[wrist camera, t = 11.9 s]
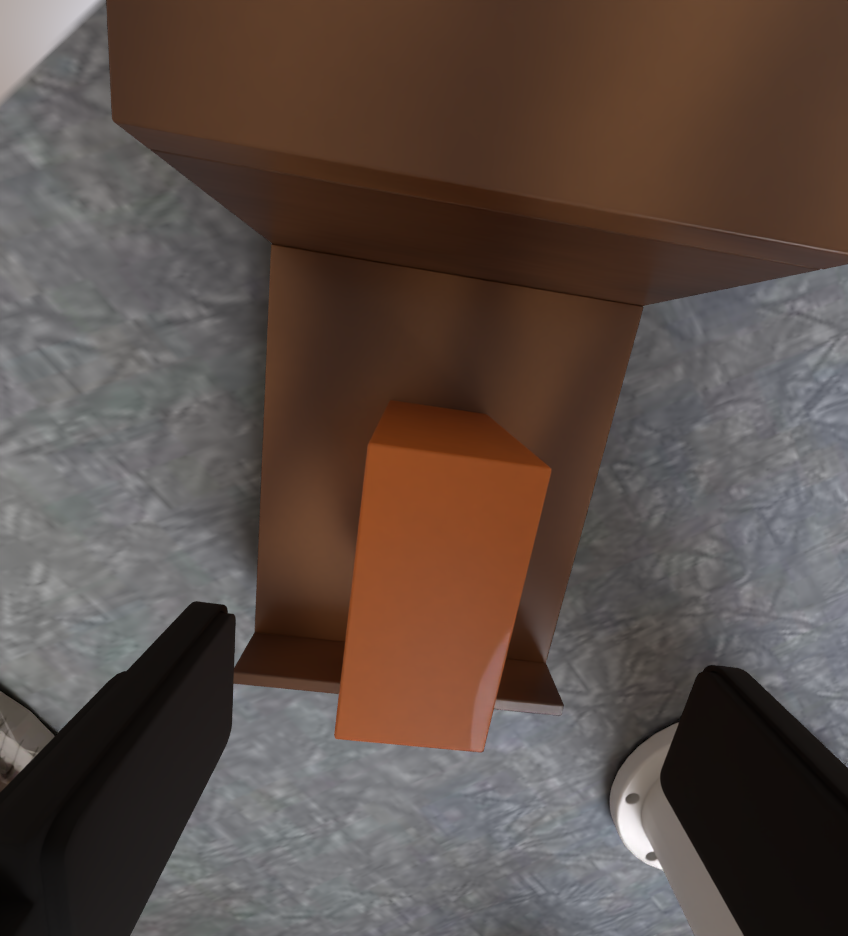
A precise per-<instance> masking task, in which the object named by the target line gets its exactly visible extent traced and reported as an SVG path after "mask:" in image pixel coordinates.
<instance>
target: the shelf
mask: <svg viewBox="0 0 848 936" xmlns="http://www.w3.org/2000/svg"><path fill="white" fill-rule="evenodd" d="M106 6H107V26H108V47H109V67H110V88H111V108H112V119H113V121H114V122H115V123H116V124H117V125H119V126H120V127H121V128H122V129H124V130H125V131H126V132H128V133H129V134H130V135H132V136H133V137H134V138H135V139H137V140H138V141H139V142H141V143H142V144H143V145H145V146H146V147H147V148H149V149H150V150H151V151H153V152H154V153H155V154H157V155H158V156H159V157H160V158H162V159H163V160H164V161H166V162H167V163H168V164H169V165H171V166H172V167H173V168H175V169H176V170H177V171H179V172H180V173H181V174H182V175H184V176H185V177H186V178H188V179H189V180H190V181H192V182H193V183H194V184H195V185H197V186H198V187H199V188H201V189H202V190H203V191H205V192H206V193H207V194H208V195H210V196H211V197H212V198H214V199H215V200H216V201H217V202H219V203H220V204H221V205H223V206H224V207H225V208H227V209H228V210H229V211H230V212H232V213H233V214H234V215H236V216H237V217H238V218H240V219H241V220H242V221H243V222H245V223H246V224H247V225H249V226H250V227H251V228H252V229H254V230H255V231H256V232H258V233H259V234H260V235H262V236H263V237H264V238H265V239H267V240H268V241H269V242H271V243H272V245H271V260H270V284H269V307H268V331H267V354H266V378H265V401H264V425H263V448H262V472H261V495H260V519H259V542H258V566H257V589H256V613H255V633H254V634H253V636H252V638H251V639H250V641H249V643H248V645H247V646H246V648H245V650H244V652H243V653H242V655H241V657H240V659H239V661H238V662H237V664H236V666H235V668H234V680H233V684H244V685H254V686H264V687H274V688H284V689H294V690H304V691H314V692H325V693H335V694H339V690H340V681H341V673H342V664H343V655H344V646H345V638H346V629H347V620H348V612H349V603H350V594H351V585H352V577H353V568H354V559H355V550H356V542H357V533H358V524H359V516H360V507H361V498H362V489H363V481H364V472H365V463H366V454H367V446H368V443H369V441H370V439H371V437H372V435H373V433H374V431H375V429H376V427H377V425H378V423H379V421H380V419H381V417H382V415H383V413H384V411H385V409H386V407H387V405H388V403H389V401H390V400H393V401H400V402H407V403H414V404H421V405H427V406H434V407H441V408H448V409H455V410H462V411H468V412H475V413H482V414H487V415H488V416H489V417H491V418H492V419H493V420H494V421H495V422H497V423H498V424H499V425H500V426H501V427H503V428H504V429H505V430H506V431H507V432H508V433H510V434H511V435H512V436H513V437H514V438H516V439H517V440H518V441H519V442H520V443H522V444H523V445H524V446H525V447H526V448H528V449H529V450H530V451H531V452H532V453H533V454H535V455H536V456H537V457H538V458H539V459H541V460H542V461H543V462H544V463H545V464H547V465H548V466H549V467H550V468H551V476H550V480H549V484H548V488H547V492H546V496H545V500H544V504H543V508H542V513H541V517H540V521H539V525H538V529H537V533H536V537H535V541H534V545H533V550H532V554H531V558H530V562H529V566H528V570H527V574H526V578H525V582H524V586H523V591H522V595H521V599H520V603H519V607H518V611H517V615H516V619H515V623H514V628H513V632H512V636H511V640H510V644H509V648H508V652H507V656H506V660H505V665H504V669H503V673H502V677H501V681H500V685H499V689H498V693H497V697H496V702H495V706H494V709H497V710H507V711H517V712H527V713H537V714H548V715H558V716H560V715H561V714H562V710H563V707H564V704H563V702H562V700H561V697H560V695H559V693H558V690H557V688H556V686H555V683H554V681H553V679H552V676H551V674H550V672H549V669H548V667H547V665H546V660H547V657H548V653H549V649H550V646H551V642H552V638H553V635H554V631H555V628H556V624H557V620H558V617H559V613H560V609H561V606H562V602H563V598H564V595H565V591H566V587H567V584H568V580H569V577H570V573H571V569H572V566H573V562H574V558H575V555H576V551H577V547H578V544H579V540H580V536H581V533H582V529H583V526H584V522H585V518H586V515H587V511H588V507H589V504H590V500H591V496H592V493H593V489H594V485H595V482H596V478H597V474H598V471H599V467H600V464H601V460H602V456H603V453H604V449H605V445H606V442H607V438H608V434H609V431H610V427H611V423H612V420H613V416H614V413H615V409H616V405H617V402H618V398H619V394H620V391H621V387H622V383H623V380H624V376H625V372H626V369H627V365H628V362H629V358H630V354H631V351H632V347H633V343H634V340H635V336H636V332H637V329H638V325H639V321H640V318H641V314H642V311H643V306H644V305H649V304H654V303H659V302H664V301H669V300H674V299H679V298H683V297H688V296H693V295H698V294H703V293H708V292H713V291H718V290H723V289H728V288H732V287H737V286H742V285H747V284H752V283H757V282H762V281H767V280H772V279H777V278H782V277H786V276H791V275H796V274H801V273H806V272H811V271H816V270H820V269H826V268H831V267H836V266H841V265H846V264H848V0H106Z"/></svg>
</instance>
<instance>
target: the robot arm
mask: <svg viewBox="0 0 848 936" xmlns="http://www.w3.org/2000/svg"><path fill="white" fill-rule="evenodd" d="M235 624H236V619H235V615H234V614H229V613H228V610H227V607H226V606H225V605H221V604H213V603H205V602H197V601H196V602H193V603H191V604H190V605H189V606H188V607H187V608H186V609H185V610H184V611H183V612H182V613H181V614H180V615H179V616H178V618H177V619H176V620H175V621H174V622H173V623H172V624H171V625H170V626H169V627H168V628H167V629H166V630H165V631H164V632H163V633H162V634H161V635H160V636H159V638H158V639H157V640H156V641H155V642H154V643H153V644H152V645H151V646H150V647H149V648H148V649H147V650H146V651H145V652H144V653H143V654H142V655H141V657H140V658H139V659H138V660H137V661H136V662H135V663H134V664H133V665H132V666H131V667H130V668H129V669H128V670H127V671H124V672H121V673H119V674H117V675H115V676H114V677H113V678H112V679H111V680H110V681H108V682H107V683H106V684H105V685H104V686H103V687H102V688H101V689H100V691H99V692H98V693H97V694H96V695H95V696H94V697H93V698H92V699H91V700H90V701H89V702H88V703H87V704H86V705H85V706H84V707H83V708H82V709H81V710H80V711H79V712H78V713H77V714H76V715H75V716H74V717H73V718H72V719H71V720H70V721H69V722H68V723H67V724H66V725H65V726H64V727H63V728H62V730H61V731H60V732H59V733H58V734H57V735H56V736H55V737H54V738H53V739H52V740H51V741H50V742H49V743H48V744H47V745H46V746H45V747H44V748H43V749H42V750H41V751H40V752H39V753H38V754H37V755H36V756H35V757H34V758H33V759H32V760H31V761H30V762H29V763H28V764H27V765H26V766H25V767H24V768H23V770H22V771H21V772H20V773H19V774H18V775H17V776H16V777H15V778H14V779H13V780H12V781H11V782H10V783H9V784H8V785H7V786H6V787H5V788H4V789H3V790H2V791H1V792H0V936H130V935H131V933H132V931H133V929H134V927H135V925H136V923H137V921H138V919H139V917H140V915H141V913H142V911H143V909H144V907H145V905H146V903H147V901H148V899H149V897H150V895H151V893H152V891H153V889H154V887H155V885H156V883H157V881H158V879H159V877H160V875H161V873H162V871H163V869H164V867H165V865H166V863H167V862H168V860H169V858H170V856H171V854H172V852H173V850H174V848H175V846H176V844H177V842H178V840H179V838H180V836H181V834H182V832H183V830H184V828H185V826H186V824H187V822H188V820H189V818H190V816H191V814H192V812H193V810H194V808H195V806H196V804H197V802H198V800H199V798H200V796H201V794H202V792H203V790H204V788H205V786H206V784H207V782H208V780H209V778H210V777H211V775H212V773H213V771H214V769H215V767H216V765H217V763H218V761H219V759H220V757H221V755H222V753H223V751H224V749H225V747H226V744H227V742H228V739H229V736H230V732H231V727H232V708H233V680H234V652H235ZM609 801H610V813H611V816H612V819H613V821H614V824H615V827H616V829H617V831H618V834H619V836H620V838H621V839H622V841H623V843H624V845H625V846H626V847H627V848H628V849H629V851H630V852H631V853H632V854H633V855H634V856H636V857H637V858H638V859H640V860H641V861H643V862H644V863H646V864H648V865H651V866H653V867H656V868H658V869H660V870H663V871H664V873H665V875H666V877H667V879H668V881H669V883H670V886H671V888H672V890H673V892H674V894H675V896H676V898H677V900H678V902H679V904H680V906H681V908H682V910H683V913H684V915H685V917H686V919H687V921H688V923H689V925H690V927H691V929H692V931H693V933H694V935H695V936H848V768H847V767H846V766H845V765H844V764H843V763H842V762H841V761H840V760H839V759H838V758H837V757H836V756H835V755H833V754H832V753H831V752H830V751H829V750H828V749H827V748H826V747H825V746H824V745H823V744H822V743H821V742H820V741H819V740H818V739H817V738H816V737H815V736H814V735H812V734H811V733H810V732H809V731H808V730H807V729H806V728H805V727H804V726H803V725H802V724H801V723H800V722H799V721H798V720H797V719H796V718H795V717H794V716H793V715H791V714H790V713H789V712H788V711H787V710H786V709H785V708H784V707H783V706H782V705H781V704H780V703H779V702H778V701H777V700H776V699H775V698H774V697H773V696H772V695H771V694H769V693H768V692H767V691H766V690H765V689H764V688H763V687H762V686H761V685H760V684H759V683H758V682H757V681H756V680H755V679H754V678H753V677H752V676H751V675H750V674H748V673H747V672H746V671H744V670H742V669H739V668H733V667H725V666H717V665H709V666H707V667H706V668H705V669H704V670H703V672H700V673H699V674H698V675H697V677H696V679H695V682H694V684H693V687H692V690H691V692H690V695H689V697H688V700H687V703H686V705H685V708H684V711H683V713H682V716H681V719H680V721H679V722H678V723H675V724H673V725H671V726H669V727H667V728H665V729H663V730H661V731H659V732H657V733H656V734H654V735H653V736H651V737H650V738H649V739H647V740H646V741H645V742H643V743H642V744H640V745H639V746H638V747H637V748H636V749H635V750H634V751H633V753H632V754H631V755H630V756H629V757H628V758H627V759H626V761H625V762H624V764H623V765H622V766H621V768H620V769H619V771H618V773H617V775H616V778H615V780H614V782H613V785H612V788H611V794H610V800H609Z"/></svg>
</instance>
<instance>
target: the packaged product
mask: <svg viewBox="0 0 848 936" xmlns="http://www.w3.org/2000/svg"><path fill="white" fill-rule="evenodd" d="M54 737H55V736H54V735H53V734H52V733H51V732H50V731H49V730H48V729H47V728H46V727H45V726H44V725H43V724H42V723H41V722H40V721H39V719H38V718H37V717H36V716H35V715H34V714H33V713H32V712H31V711H29V710H28V709H26V708H25V707H23V706H22V705H20V704H19V703H17V702H16V701H14V700H13V699H11V698H10V697H8V696H7V695H5V694H4V693H2V692H1V691H0V792H1V791H2V790H3V789H4V788H5V787H6V786H7V785H8V784H9V783H10V782H11V781H12V780H13V779H14V778H15V777H16V776H17V775H18V774H19V773H20V772H21V771H22V770H23V768H24V767H25V766H26V765H27V764H28V763H29V762H30V761H31V760H32V759H33V758H34V757H35V756H36V755H37V754H38V753H39V752H40V751H41V750H42V749H43V748H44V747H45V746H46V745H47V744H48V743H49V742H50V741H51V740H52V739H53V738H54Z"/></svg>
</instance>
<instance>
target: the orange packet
mask: <svg viewBox="0 0 848 936" xmlns="http://www.w3.org/2000/svg"><path fill="white" fill-rule="evenodd" d="M550 476H551V468H550V467H549V466H548V465H547V464H545V463H544V462H543V461H542V460H541V459H539V458H538V457H537V456H536V455H535V454H533V453H532V452H531V451H530V450H529V449H528V448H526V447H525V446H524V445H523V444H522V443H520V442H519V441H518V440H517V439H516V438H514V437H513V436H512V435H511V434H510V433H508V432H507V431H506V430H505V429H504V428H503V427H501V426H500V425H499V424H498V423H497V422H495V421H494V420H493V419H492V418H491V417H489V416H488V415H487V414H482V413H475V412H468V411H462V410H455V409H448V408H441V407H434V406H427V405H421V404H414V403H407V402H400V401H393V400H390V401H389V403H388V405H387V407H386V409H385V411H384V413H383V415H382V417H381V419H380V421H379V423H378V425H377V427H376V429H375V431H374V433H373V435H372V437H371V439H370V441H369V443H368V446H367V454H366V463H365V472H364V481H363V489H362V498H361V507H360V516H359V524H358V533H357V542H356V550H355V559H354V568H353V577H352V585H351V594H350V603H349V612H348V620H347V629H346V638H345V646H344V655H343V664H342V673H341V681H340V690H339V699H338V708H337V716H336V725H335V734H334V736H335V738H336V739H342V740H353V741H364V742H375V743H386V744H397V745H407V746H418V747H429V748H440V749H451V750H461V751H472V752H483V751H484V747H485V743H486V739H487V734H488V730H489V726H490V722H491V718H492V714H493V710H494V706H495V702H496V697H497V693H498V689H499V685H500V681H501V677H502V673H503V669H504V665H505V660H506V656H507V652H508V648H509V644H510V640H511V636H512V632H513V628H514V623H515V619H516V615H517V611H518V607H519V603H520V599H521V595H522V591H523V586H524V582H525V578H526V574H527V570H528V566H529V562H530V558H531V554H532V550H533V545H534V541H535V537H536V533H537V529H538V525H539V521H540V517H541V513H542V508H543V504H544V500H545V496H546V492H547V488H548V484H549V480H550Z"/></svg>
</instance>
